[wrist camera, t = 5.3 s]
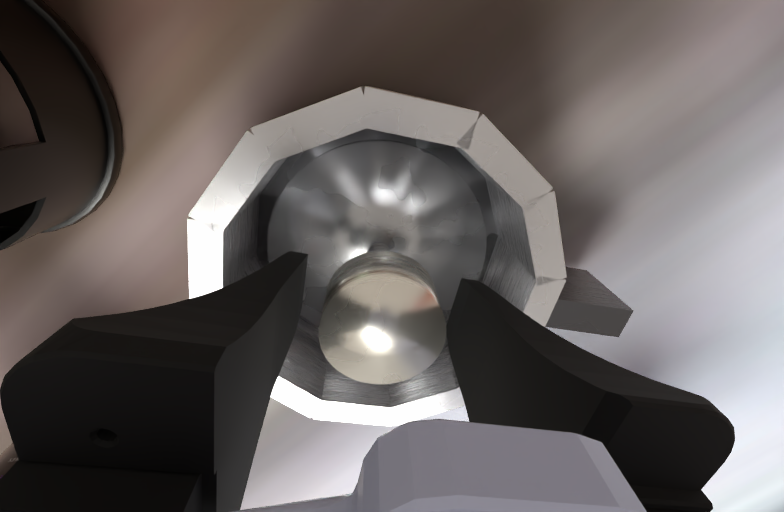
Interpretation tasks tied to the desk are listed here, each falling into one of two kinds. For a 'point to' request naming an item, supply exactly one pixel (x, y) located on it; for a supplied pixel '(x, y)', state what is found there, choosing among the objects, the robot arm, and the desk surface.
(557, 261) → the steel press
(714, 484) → the desk surface
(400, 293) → the plunger
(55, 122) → the french press
